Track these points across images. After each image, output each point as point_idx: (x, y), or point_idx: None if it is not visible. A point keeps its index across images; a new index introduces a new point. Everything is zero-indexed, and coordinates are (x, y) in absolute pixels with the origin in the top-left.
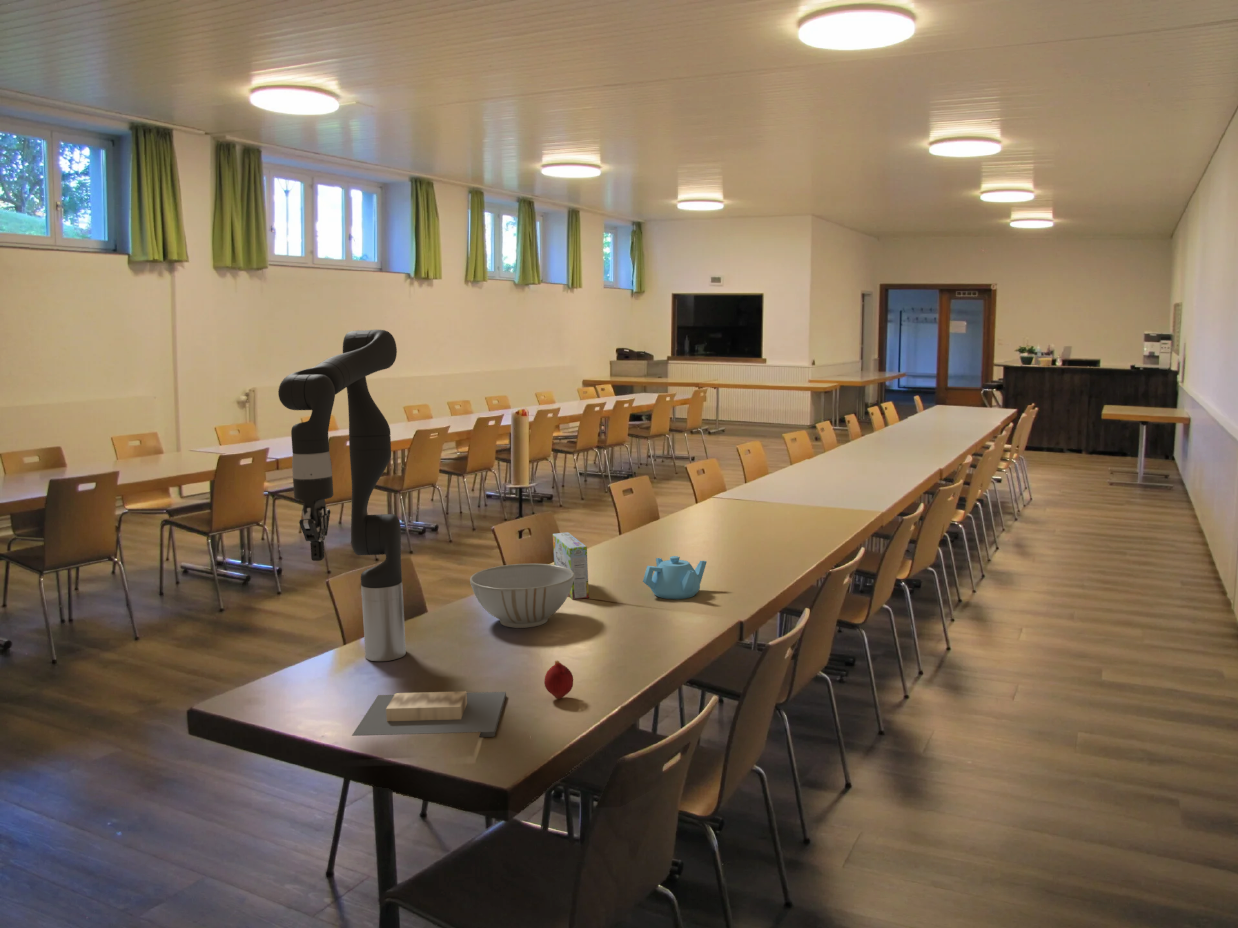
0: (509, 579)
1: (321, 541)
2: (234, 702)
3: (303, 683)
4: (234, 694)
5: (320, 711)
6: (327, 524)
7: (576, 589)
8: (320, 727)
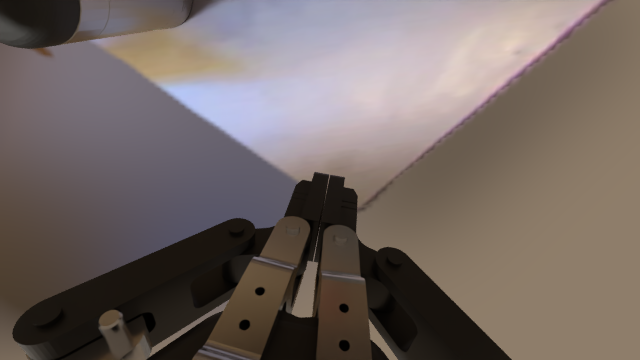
0: None
1: (345, 228)
2: None
3: (284, 112)
4: None
5: (408, 71)
6: (180, 257)
7: None
8: (478, 61)
